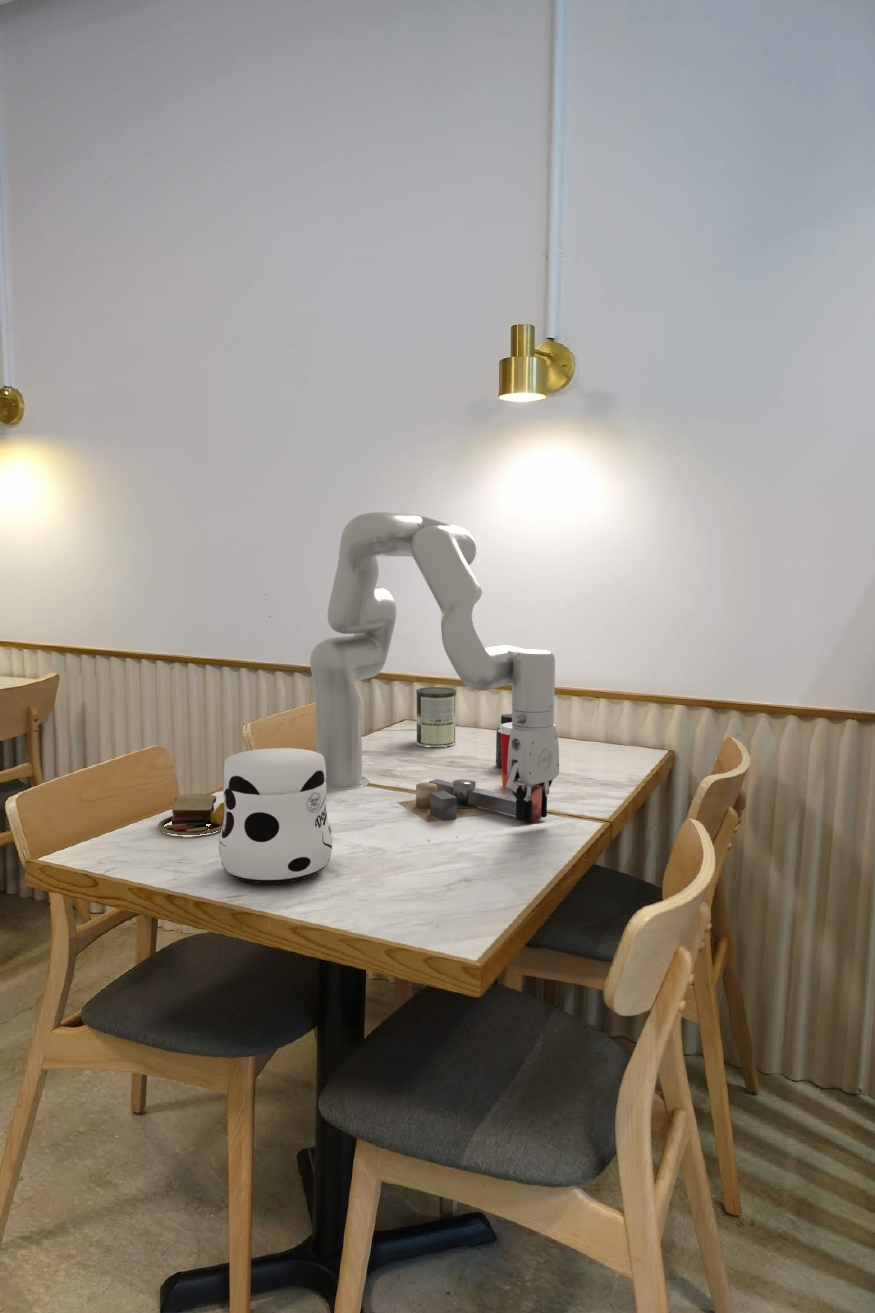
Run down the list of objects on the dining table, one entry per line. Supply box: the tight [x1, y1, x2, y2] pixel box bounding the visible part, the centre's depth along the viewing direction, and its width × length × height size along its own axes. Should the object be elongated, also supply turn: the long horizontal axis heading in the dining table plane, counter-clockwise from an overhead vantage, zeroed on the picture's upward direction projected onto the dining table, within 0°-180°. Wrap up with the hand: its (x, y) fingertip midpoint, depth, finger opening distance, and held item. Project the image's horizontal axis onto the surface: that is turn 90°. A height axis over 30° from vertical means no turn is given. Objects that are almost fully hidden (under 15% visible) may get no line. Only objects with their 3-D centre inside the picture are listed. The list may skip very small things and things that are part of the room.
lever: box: [428, 778, 543, 821], centre depth 169 cm, size 26×4×6 cm, turn 48°
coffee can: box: [415, 686, 457, 748], centre depth 231 cm, size 10×10×14 cm
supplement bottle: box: [495, 713, 512, 769], centre depth 207 cm, size 7×7×12 cm
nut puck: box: [415, 782, 437, 809], centre depth 172 cm, size 4×4×4 cm
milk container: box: [218, 747, 333, 884], centre depth 139 cm, size 17×17×18 cm
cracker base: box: [396, 791, 499, 823], centre depth 171 cm, size 16×14×5 cm
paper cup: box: [498, 722, 522, 790], centre depth 186 cm, size 8×8×14 cm
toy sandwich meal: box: [157, 793, 224, 835], centre depth 162 cm, size 12×14×5 cm
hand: (531, 817), depth 162 cm, fingers closed on lever, 3 cm apart
